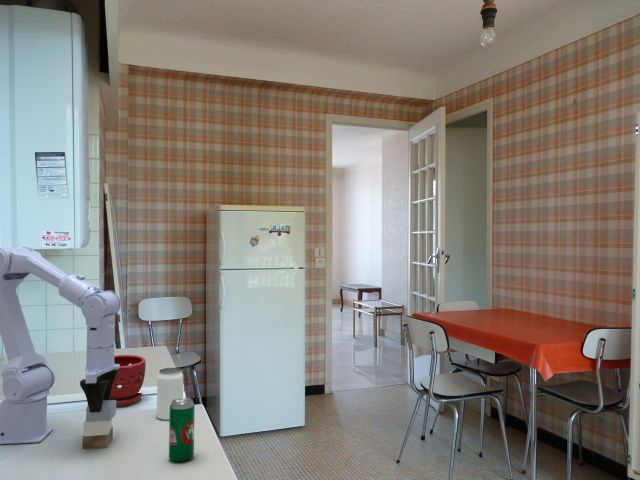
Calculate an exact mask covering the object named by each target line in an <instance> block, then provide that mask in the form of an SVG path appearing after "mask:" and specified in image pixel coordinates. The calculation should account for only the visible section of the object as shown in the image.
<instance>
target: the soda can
mask: <svg viewBox="0 0 640 480" xmlns="http://www.w3.org/2000/svg"><path fill="white" fill-rule="evenodd" d="M171 403H172V404H171V405H170V412H169V420H168V421H169V422H168V423H169V426H168V427H169V429H168V458H169V459H170V461H171V462H174V463H181V464H182V463H185V462H188V461H190V460H191V459H193V457H194V455H195V414H196V413H195V409H196V408H195V403H194V400H193V399H192V398H190V397H183V398H178V399H175V400H173V401H172V402H171Z"/></svg>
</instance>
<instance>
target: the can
mask: <svg viewBox="0 0 640 480" xmlns="http://www.w3.org/2000/svg"><path fill="white" fill-rule="evenodd" d="M182 370H183V369H182V368H180V367H165V368H162V369H159V373H158V375H157V379H156V382H157V384H156V418H157V419H159V420H160V419H163V420H162V421H169V412H170V405H171V404H172V403H171V402H172V401H173V400H175V399H178V398H184V373H183V372H182Z"/></svg>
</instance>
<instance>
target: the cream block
mask: <svg viewBox="0 0 640 480" xmlns="http://www.w3.org/2000/svg"><path fill="white" fill-rule="evenodd" d="M111 427H113V418H112V419H111V421H96V422H86V419H85V420H84V422H83V432H82V433H83V435H82V436H83V437H84V436H97V435H108V434H109V432H110V430H111Z"/></svg>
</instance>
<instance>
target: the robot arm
mask: <svg viewBox="0 0 640 480" xmlns="http://www.w3.org/2000/svg"><path fill="white" fill-rule="evenodd" d="M29 275H34V276H36V277H37V278H39V279H41V280H43V281H45V282H47V283H48V284H50V285H52V286H53V287H56V288H58V289H57V290H58V295H59V296H61V297H62V298H63V299H64V300H66V301H68V302H70V304H71V303H72V304H73V305H74V306H76V307H78V308H80V309H81V313H82V315H83V317H84V318H85V325H86V359H85V360H86V362H85V363H86V366H84V367H85V369H84V371H85V373H86V374H85V378H84V379H80V381H79V386H80V387H81V389H82V391H83V393H84V395H85V398H86V402H87V407H89V411H90V413H95V412H100V411H101V409H102V404H103V401H104V400H110V396H111V391H112V387H113V383H114V380H115V378H116V376H117V374H118V372H119V368H120V364H115V363H114V356H115V349H116V347H115V344H116V343H115V339H116V329H115V328H116V314H118V312H119V311H120V309H121V299H120V297H119V295H117V293H115V291H113V290H105V291H103V289H102V286H99V285H94V284H93V283H92V282H89V281H87V280H86V276H85V275H83V274H70V275H68V274H67V273H65V272H64V271H62V270H61V269H60V268H59V267H57V266H56V265H54V264H53V263H51V261H49V260H47V259H45V258H44V257H43V256H42V254H41V253H40V252H39V251H36V250H35V249H33V248H31V247H29V246H23V247H0V338H1V341H2V344H3V347H4V349H5V354H6V356H7V361H8V362H7V363H6V365H5V366H4V368H3V370H2V371H1V373H0V374H1V377H2V393H3V395H4V397H5V399H3V400H2V401H1V402H0V445H7V444H8V445H9V444H11V445H12V444H13V445H14V444H31V443H40V442H41V443H42V441H43V440H44V439H45V438H46V437H47V436H48V435H49V434H50V433H51V432H52V431H53V430H54V427H47V424H48V423H47V421H48V419H47V415H48V395H49V394H50V389H51V388H52V387H53V386H54V385H55V381H56V377H55V376H56V375H55V372H54V370H53V368H52V367H50V365H49V364H48V361H47V358H46V357H44V356H42V355H41V354H39V353H37V352H36V349H35V346H34V343H33V340H32V337H31V334H30V331H29V327H28V324H27V321H26V318H25V316H24V315H25V314H24V312H23V309H22V306H21V303H20V300H19V295H18V294H17V289H18V287H19V285H20V284H21V283H23V282H24V281H25V279H26V278H27V277H29Z"/></svg>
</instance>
